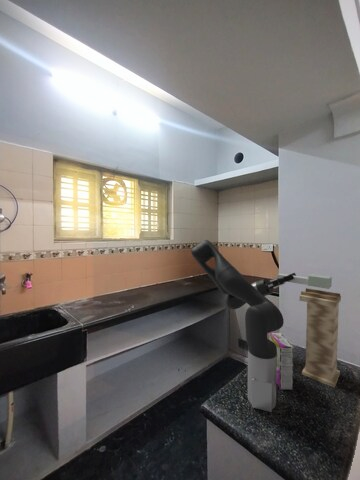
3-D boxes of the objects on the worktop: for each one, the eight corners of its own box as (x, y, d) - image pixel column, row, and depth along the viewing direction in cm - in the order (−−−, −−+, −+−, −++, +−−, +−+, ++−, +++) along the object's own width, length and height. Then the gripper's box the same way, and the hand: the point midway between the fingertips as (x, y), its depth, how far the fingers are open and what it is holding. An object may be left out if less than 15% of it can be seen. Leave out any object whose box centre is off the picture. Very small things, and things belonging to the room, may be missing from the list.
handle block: (331, 286, 88) (331, 276, 88) (328, 289, 84) (329, 278, 84) (280, 278, 101) (280, 269, 101) (276, 280, 98) (276, 271, 98)
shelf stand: (339, 373, 90) (342, 292, 88) (334, 387, 82) (337, 299, 80) (305, 360, 98) (307, 287, 97) (297, 372, 90) (299, 292, 89)
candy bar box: (268, 370, 92) (268, 332, 91) (280, 370, 92) (280, 332, 91) (279, 390, 81) (280, 346, 80) (293, 390, 81) (294, 346, 80)
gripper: (249, 284, 102) (284, 269, 91) (262, 279, 112) (295, 265, 101) (257, 299, 100) (293, 287, 89) (270, 293, 110) (303, 280, 99)
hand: (294, 275), depth 95 cm, fingers closed on handle block, 3 cm apart
